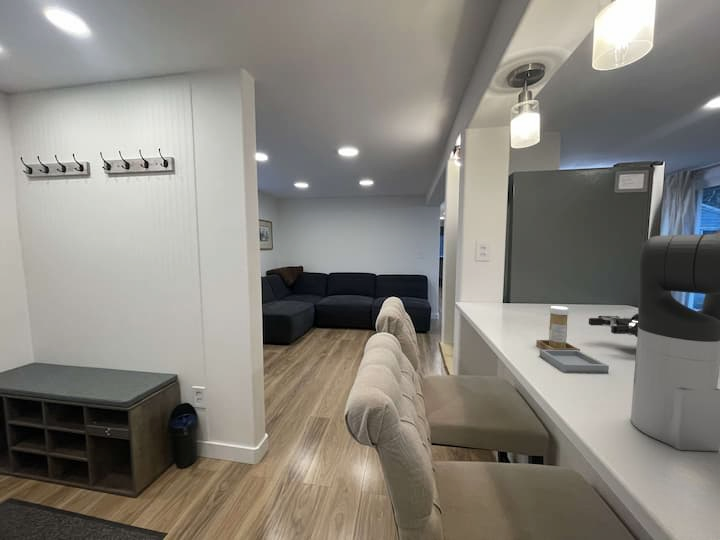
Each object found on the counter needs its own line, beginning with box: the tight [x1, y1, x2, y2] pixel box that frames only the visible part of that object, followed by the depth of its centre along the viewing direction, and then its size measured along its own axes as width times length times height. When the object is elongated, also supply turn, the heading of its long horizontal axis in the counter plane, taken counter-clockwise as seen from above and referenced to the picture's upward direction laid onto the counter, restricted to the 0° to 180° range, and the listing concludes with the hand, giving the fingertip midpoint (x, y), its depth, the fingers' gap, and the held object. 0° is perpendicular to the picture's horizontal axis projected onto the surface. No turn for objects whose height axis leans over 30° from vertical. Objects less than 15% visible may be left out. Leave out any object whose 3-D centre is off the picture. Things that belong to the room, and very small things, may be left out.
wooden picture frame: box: [535, 339, 581, 351], centre depth 85 cm, size 8×8×2 cm
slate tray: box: [539, 349, 610, 374], centre depth 76 cm, size 11×11×2 cm
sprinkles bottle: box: [548, 305, 570, 348], centre depth 85 cm, size 5×5×14 cm
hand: (600, 325), depth 84 cm, fingers open, 8 cm apart
